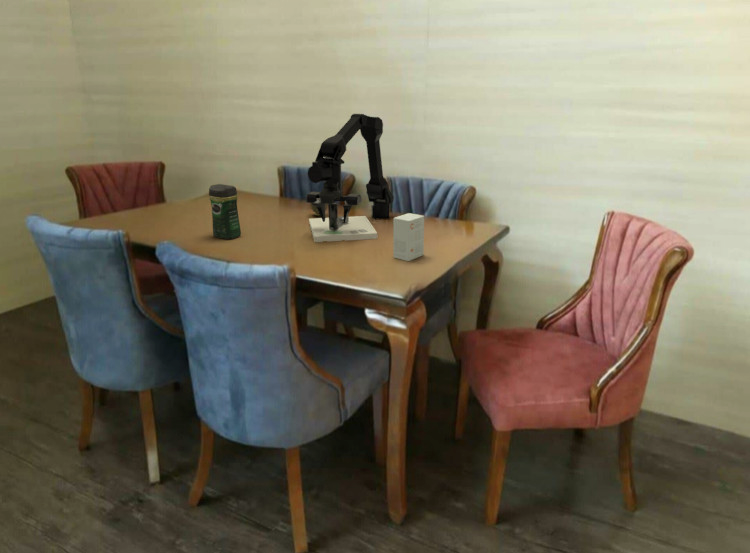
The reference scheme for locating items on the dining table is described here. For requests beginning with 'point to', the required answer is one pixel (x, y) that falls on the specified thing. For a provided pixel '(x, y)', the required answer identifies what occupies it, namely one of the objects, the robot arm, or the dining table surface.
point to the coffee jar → (224, 211)
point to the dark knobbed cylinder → (335, 217)
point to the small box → (408, 236)
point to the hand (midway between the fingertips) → (334, 222)
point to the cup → (317, 209)
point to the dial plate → (342, 230)
